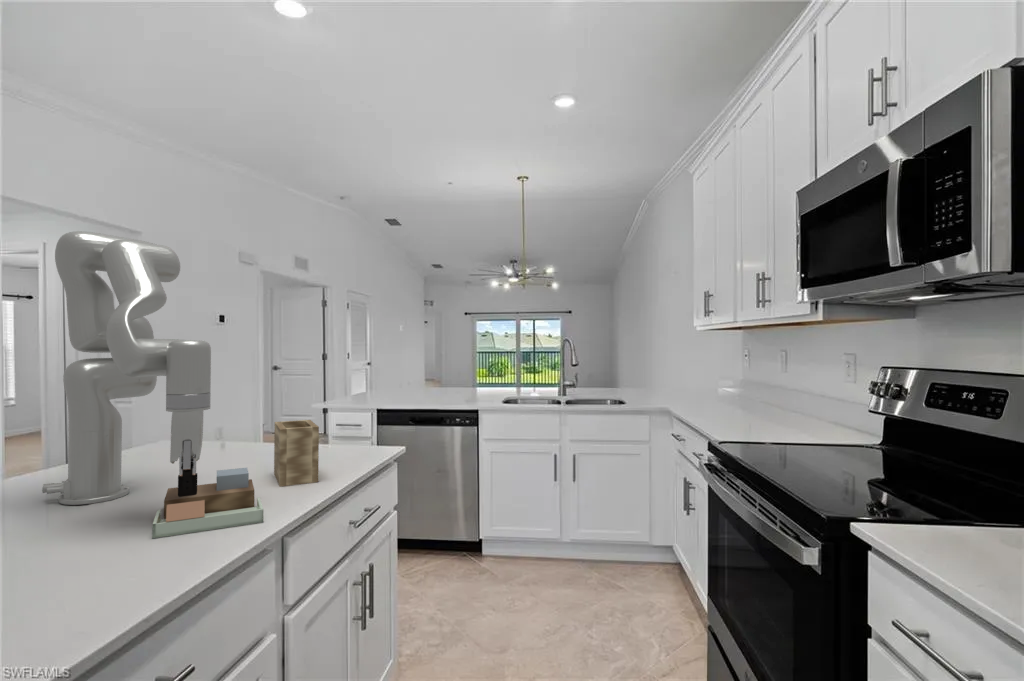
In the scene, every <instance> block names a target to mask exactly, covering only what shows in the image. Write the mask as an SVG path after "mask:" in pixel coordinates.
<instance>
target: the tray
mask: <svg viewBox="0 0 1024 681" xmlns="http://www.w3.org/2000/svg"><path fill="white" fill-rule="evenodd" d="M161 512H162V509H157V510H156V513H155V517H154V518H153V522H152V526H151V528H152V532H151V535H152V536H151V537H152V538H151V539H159V538H165V537H167V538H168V537H174V536H181V535H188V534H194V533H199V532H208V531H212V530H214V531H215V530H221V529H225V528H226V529H227V528H233V527H241V526H246V525H247V526H248V525H254V524H260V523H264V507H263V504H262V499H261V497H260V496H257V498H256V506H254V507H252V508H244V509H237V510H230V511H222V512H215V513H207V514H205V517H199V518H192V519H185V520H177V521H170V522H166V519H164V518H161V516H162V513H161Z"/></svg>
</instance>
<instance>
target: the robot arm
mask: <svg viewBox="0 0 1024 681" xmlns="http://www.w3.org/2000/svg"><path fill="white" fill-rule="evenodd" d="M54 262H55V266H56V269H57V270H56V271H57V274H58V275H59V278H60V280H61V282H62V285H63V286H62V287H63V288H64V292H65V297H66V298H65V299H66V312H67V327H68V337H69V342H70V344H71V346H72V347H73V349H75V350H76V351H78V352H80V353H81V352H82V353H88V354H89V353H93V354H97V353H98V354H99V353H101V354H103V353H104V354H106V353H107V354H109V353H110V355H111V357H98V358H97V357H94V358H91V357H90V358H84V359H80V360H79V359H78V360H76V361H74V362H71V363H70V364H69V365H68V366H66V368H65V369H64V372H63V376H62V377H63V378H62V380H63V386H64V392H65V396H66V402H67V414H68V440H67V442H68V447H67V450H68V452H67V453H68V455H67V457H68V458H67V459H68V460H67V479H66V480H62V481H61V482H57V483H52V482H51V483H44V484H43V485H42V490H41V491H42V493H43V494H46V495H48V494H50V495H51V494H55V493H60V495H59V496H58V503H59V504H61V505H65V506H67V505H68V506H70V505H71V506H77V505H78V506H79V505H91V504H98V503H104V502H108V501H114V500H117V499H120V498H123V497H125V496H127V495H129V493H130V487H129V486H127V485H124V484H122V451H123V450H122V447H123V446H122V443H123V442H122V438H123V437H122V436H123V431H122V429H123V419H122V415H121V414H120V412H119V410H118V409H117V408H116V407H115V406H114V404H112V402H111V401H110V400H115V399H117V400H118V399H126V398H128V399H129V398H137V397H138V398H139V397H144V396H148V395H149V394H151V393H152V392H154V390H155V388H156V385H157V381H158V379H157V378H158V377H166V379H165V380H166V381H165V411H166V412H168V413H169V412H170V413H171V420H170V422H171V423H170V453H169V454H170V455H169V463H171V464H175V462H178V461H179V462H178V465H179V470H178V471H179V474H178V476H177V487H178V496H179V497H184V496H192V495H196V494H197V485H198V472H197V462H198V461H199V460H200V457H201V453H202V446H203V438H204V437H203V436H204V411H207V410H211V396H212V395H211V379H212V378H211V376H212V366H211V365H212V347H211V345H210V343H209V342H208V341H205V340H191V339H190V340H187V339H179V338H178V339H169V338H155V336H154V330H153V327H152V325H151V323H150V321H149V320H148V319H147V318H146V317H145V316H149V315H151V314H153V313H156V312H157V311H159V310H160V309H162V308H163V307H164V306H165V305H166V303H167V300H168V299H167V294H166V291H165V290H164V289H165V288H164V287H163V285H162V283H171V282H173V281H175V280H176V279H177V278H178V277H179V275H180V272H181V262H180V259H179V256H178V255H177V253H176V252H175V250H173V249H172V248H171V247H169V246H167V245H162V244H157V243H153V242H149V241H144V240H139V239H135V238H129V237H123V236H117V235H112V234H105V233H100V232H99V233H98V232H92V231H79V230H77V231H69V232H66V233H64V234H62V235H61V236H60V237H59V239H58V240H57V243H56V246H55V250H54ZM96 271H98V272H106V274H107V276H108V279H109V281H110V283H111V286H112V289H113V291H112V289H111V288H110V286H109V285H108V283H107V282H106V281H105V280H104V279H103V278H102V277H101V276H100V275H99V274H98V273H96ZM113 292H114V293H113ZM114 294H115V297H116V299H117V302H118V304H119V305H118V306H117V307H116V308H115V305H114V304H115V303H114Z"/></svg>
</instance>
